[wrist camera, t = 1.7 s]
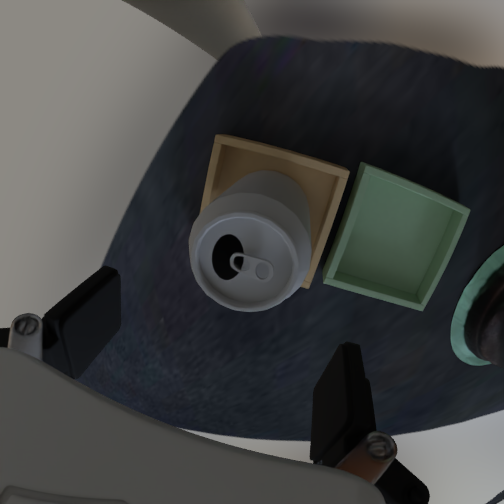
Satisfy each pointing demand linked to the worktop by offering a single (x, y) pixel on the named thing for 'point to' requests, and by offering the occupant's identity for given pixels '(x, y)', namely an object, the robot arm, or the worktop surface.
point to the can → (253, 242)
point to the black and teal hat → (481, 316)
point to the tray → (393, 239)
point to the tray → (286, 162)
